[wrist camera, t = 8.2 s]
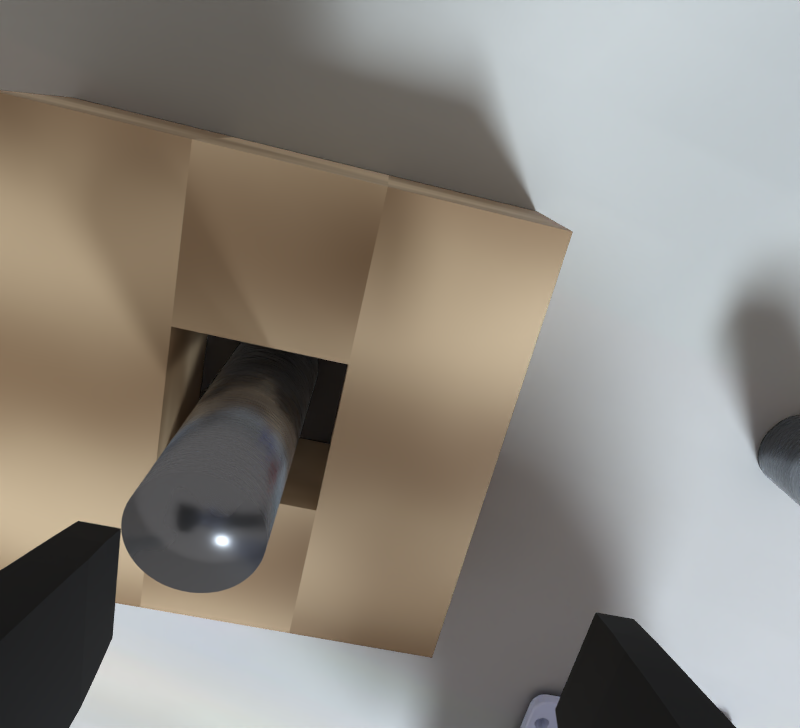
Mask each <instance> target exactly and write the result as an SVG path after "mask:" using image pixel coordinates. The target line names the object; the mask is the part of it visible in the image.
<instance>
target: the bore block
mask: <svg viewBox="0 0 800 728" xmlns="http://www.w3.org/2000/svg"><path fill="white" fill-rule="evenodd" d="M571 235H572V231H570V230H569V229H567V228H565V227H563V226H562V225H560V224H558V223H556V222H554V221H553V220H551V219H549V218H547V217H546V216H544V215H542V214H540V213H539V212H537V211H533V210H529V209H525V208H521V207H517V206H513V205H509V204H504V203H500V202H496V201H492V200H488V199H484V198H480V197H476V196H472V195H468V194H464V193H460V192H456V191H451V190H447V189H443V188H439V187H435V186H431V185H427V184H423V183H419V182H415V181H411V180H407V179H402V178H398V177H394V176H390V175H386V174H382V173H378V172H374V171H370V170H366V169H362V168H358V167H354V166H349V165H345V164H341V163H337V162H333V161H329V160H325V159H321V158H317V157H313V156H309V155H305V154H300V153H296V152H292V151H288V150H284V149H280V148H276V147H272V146H268V145H264V144H260V143H256V142H251V141H247V140H243V139H239V138H235V137H231V136H227V135H223V134H219V133H215V132H211V131H207V130H203V129H198V128H194V127H190V126H186V125H182V124H178V123H174V122H170V121H166V120H162V119H158V118H154V117H149V116H145V115H141V114H137V113H133V112H129V111H125V110H121V109H117V108H113V107H109V106H105V105H101V104H96V103H92V102H88V101H84V100H80V99H76V98H72V97H62V96H52V95H42V94H32V93H22V92H12V91H2V90H0V570H1V569H3V568H5V567H6V566H8V565H9V564H11V563H12V562H14V561H15V560H17V559H19V558H20V557H22V556H23V555H25V554H26V553H28V552H29V551H31V550H33V549H34V548H36V547H37V546H39V545H40V544H42V543H43V542H45V541H47V540H48V539H50V538H51V537H53V536H54V535H56V534H58V533H59V532H61V531H62V530H64V529H66V528H67V527H69V526H71V525H72V524H74V523H75V522H77V521H82V522H88V523H93V524H99V525H105V526H110V527H116V528H121V521H122V515H123V511H124V508H125V506H126V504H127V502H128V501H129V499H130V498H131V496H132V495H133V493H134V492H135V490H136V489H137V488H138V486H139V485H140V483H141V482H142V481H143V479H144V478H145V476H146V475H147V474H148V472H149V471H150V469H151V468H152V467H153V465H154V464H155V462H156V461H157V460H158V458H159V457H160V455H161V454H162V453H163V451H164V450H165V448H166V447H167V445H168V444H169V443H170V441H171V440H172V438H173V437H174V436H175V434H176V433H177V431H178V430H179V429H180V427H181V426H182V424H183V423H184V422H185V420H186V419H187V417H188V416H189V415H190V413H191V412H192V410H193V409H194V408H195V406H196V405H197V403H198V402H199V397H200V390H201V382H202V375H203V367H204V360H205V352H206V345H207V337H208V334H209V335H213V336H218V337H223V338H227V339H232V340H237V341H241V342H246V343H251V344H255V345H260V346H265V347H269V348H274V349H279V350H283V351H288V352H292V353H297V354H302V355H306V356H311V357H316V358H320V359H325V360H330V361H334V362H339V363H344V364H347V367H346V372H345V377H344V381H343V386H342V390H341V395H340V399H339V404H338V408H337V413H336V417H335V422H334V427H333V431H332V436H331V440H330V444H327V443H322V442H317V441H312V440H308V439H303V438H299V440H298V443H297V447H296V450H295V453H294V457H293V460H292V464H291V467H290V470H289V474H288V477H287V480H286V484H285V487H284V490H283V494H282V497H281V501H280V504H279V507H278V511H277V514H276V517H275V521H274V524H273V527H272V531H271V534H270V538H269V541H268V544H267V548H266V551H265V554H264V557H263V559H262V561H261V563H260V565H259V566H258V568H257V569H256V570H255V571H254V573H253V574H252V575H250V576H249V577H248V578H247V579H246V580H244V581H243V582H241V583H240V584H238V585H236V586H234V587H231V588H229V589H226V590H222V591H218V592H212V593H190V592H185V591H180V590H177V589H173V588H170V587H168V586H165V585H163V584H161V583H159V582H157V581H156V580H154V579H153V578H151V577H150V576H148V575H147V574H146V573H145V572H143V571H142V570H141V569H140V568H139V567H138V566H137V565H136V564H135V562H134V561H133V559H132V558H131V557H130V555H129V553H128V551H127V550H126V547H125V545H124V542H123V538H122V533H121V535H120V548H119V560H118V573H117V586H116V598H115V603H119V604H125V605H131V606H136V607H142V608H148V609H154V610H160V611H165V612H171V613H177V614H183V615H188V616H194V617H200V618H206V619H212V620H217V621H223V622H229V623H235V624H240V625H246V626H252V627H258V628H264V629H269V630H275V631H281V632H287V633H292V634H298V635H304V636H310V637H316V638H321V639H327V640H333V641H339V642H344V643H350V644H356V645H362V646H368V647H373V648H379V649H385V650H391V651H396V652H402V653H408V654H414V655H420V656H425V657H431V658H432V656H433V653H434V650H435V647H436V644H437V641H438V638H439V635H440V632H441V629H442V626H443V623H444V620H445V617H446V614H447V611H448V608H449V605H450V602H451V599H452V596H453V593H454V589H455V586H456V583H457V580H458V577H459V574H460V571H461V568H462V565H463V562H464V559H465V556H466V553H467V550H468V547H469V544H470V541H471V538H472V535H473V532H474V529H475V526H476V523H477V520H478V517H479V514H480V511H481V508H482V505H483V502H484V499H485V496H486V493H487V490H488V487H489V484H490V481H491V478H492V474H493V471H494V468H495V465H496V462H497V459H498V456H499V453H500V450H501V447H502V444H503V441H504V438H505V435H506V432H507V429H508V426H509V423H510V420H511V417H512V414H513V411H514V408H515V405H516V402H517V399H518V396H519V393H520V390H521V387H522V384H523V381H524V378H525V375H526V372H527V369H528V366H529V363H530V360H531V356H532V353H533V350H534V347H535V344H536V341H537V338H538V335H539V332H540V329H541V326H542V323H543V320H544V317H545V314H546V311H547V308H548V305H549V302H550V299H551V296H552V293H553V290H554V287H555V284H556V281H557V278H558V275H559V272H560V269H561V266H562V263H563V260H564V257H565V254H566V251H567V248H568V245H569V242H570V238H571Z"/></svg>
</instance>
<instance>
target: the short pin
mask: <svg viewBox="0 0 800 728" xmlns="http://www.w3.org/2000/svg"><path fill="white" fill-rule="evenodd" d="M758 460H759V465H760V468H761V470H762V472H763V473H764V474H765V475H766V476H767V477H768V478H769V479H770V480H771V481H772V482H773V483H775V484H776V485H777V486H778V487H779V488H780V489H781V490H783V491H784V492H785V493H786V494H787V495H788V496H789V497H791V498H792V499H793V500H794V501H795V502H796V503H797V504H799V505H800V415H797V416H793V417H790V418H788V419H785V420H783V421H782V422H780V423H779V424H777V425H776V426H775V427H773V428H772V429H771V430H770V431H769V432H768V434H767V435H766V436H765V438H764V439H763V441H762V443H761V446H760V449H759V454H758Z"/></svg>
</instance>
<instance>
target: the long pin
mask: <svg viewBox="0 0 800 728" xmlns="http://www.w3.org/2000/svg"><path fill="white" fill-rule="evenodd" d="M318 369H319V365H318V358H316V357H311V356H306V355H302V354H297V353H292V352H288V351H283V350H279V349H274V348H269V347H265V346H260V345H255V344H251V343H246V342H241V343H240V344H239V346H238V347H237V348H236V350H235V351H234V353H233V354H232V355H231V357H230V358H229V360H228V361H227V363H226V364H225V365H224V367H223V368H222V370H221V371H220V372H219V374H218V375H217V377H216V378H215V379H214V381H213V382H212V384H211V385H210V386H209V388H208V389H207V391H206V392H205V393H204V395H203V396H202V398H201V399H200V400H199V402H198V403H197V405H196V406H195V408H194V409H193V410H192V412H191V413H190V415H189V416H188V417H187V419H186V420H185V422H184V423H183V424H182V426H181V427H180V429H179V430H178V431H177V433H176V434H175V436H174V437H173V438H172V440H171V441H170V443H169V444H168V445H167V447H166V448H165V450H164V451H163V453H162V454H161V455H160V457H159V458H158V460H157V461H156V462H155V464H154V465H153V467H152V468H151V469H150V471H149V472H148V474H147V475H146V476H145V478H144V479H143V481H142V482H141V483H140V485H139V486H138V488H137V489H136V490H135V492H134V493H133V495H132V496H131V498H130V499H129V501H128V502H127V504H126V506H125V508H124V511H123V515H122V521H121V533H122V538H123V542H124V545H125V547H126V550H127V551H128V553H129V555H130V557H131V558H132V559H133V561H134V562H135V564H136V565H137V566H138V567H139V568H140V569H141V570H142V571H143V572H145V573H146V574H147V575H148V576H150V577H151V578H153V579H154V580H156V581H157V582H159V583H161V584H163V585H165V586H168V587H170V588H173V589H177V590H180V591H185V592H190V593H212V592H218V591H222V590H226V589H229V588H231V587H234V586H236V585H238V584H240V583H241V582H243V581H244V580H246V579H247V578H248V577H249V576H250V575H252V574H253V573H254V571H255V570H256V569H257V568H258V566H259V565H260V563H261V561H262V559H263V557H264V554H265V551H266V548H267V544H268V541H269V538H270V534H271V531H272V527H273V524H274V521H275V517H276V514H277V511H278V507H279V504H280V501H281V497H282V494H283V490H284V487H285V484H286V480H287V477H288V474H289V470H290V467H291V464H292V460H293V457H294V453H295V450H296V447H297V443H298V440H299V437H300V433H301V430H302V427H303V423H304V420H305V417H306V413H307V410H308V406H309V403H310V400H311V396H312V393H313V390H314V386H315V383H316V380H317V376H318Z"/></svg>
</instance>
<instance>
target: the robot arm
mask: <svg viewBox="0 0 800 728" xmlns="http://www.w3.org/2000/svg"><path fill="white" fill-rule="evenodd" d="M120 535H121V528H116V527H110V526H105V525H99V524H93V523H88V522H82V521H77V522H75V523H74V524H72V525H71V526H69V527H67V528H66V529H64V530H62V531H61V532H59V533H58V534H56V535H54V536H53V537H51V538H50V539H48V540H47V541H45V542H43V543H42V544H40V545H39V546H37V547H36V548H34V549H33V550H31V551H29V552H28V553H26V554H25V555H23V556H22V557H20V558H19V559H17V560H15V561H14V562H12V563H11V564H9V565H8V566H6V567H5V568H3V569H1V570H0V728H69V727H70V725H71V723H72V722H73V720H74V718H75V716H76V715H77V713H78V711H79V709H80V707H81V705H82V703H83V701H84V699H85V697H86V695H87V693H88V690H89V688H90V686H91V684H92V682H93V680H94V678H95V675H96V673H97V671H98V669H99V666H100V664H101V662H102V660H103V658H104V655H105V653H106V651H107V649H108V646H109V644H110V642H111V640H112V636H113V623H114V611H115V598H116V586H117V573H118V560H119V548H120ZM539 718H541V719H539ZM520 728H736V727H735V726H734V725H733V724H732V723H731V722H730V721H729V720H728V718H727V717H726V716H725V715H724V714H723V713H722V712H721V711H720V710H719V709H718V708H717V707H716V706H715V705H714V703H713V702H712V701H711V700H710V699H709V698H708V697H707V696H706V695H705V694H704V693H703V692H702V691H701V689H700V688H699V687H698V686H697V685H696V684H695V683H694V682H693V681H692V680H691V679H690V678H689V677H688V675H687V674H686V673H685V672H684V671H683V670H682V669H681V668H680V667H679V666H678V665H677V664H676V662H675V661H674V660H673V659H672V658H671V657H670V656H669V655H668V654H667V653H666V652H665V651H664V650H663V649H662V648H661V646H660V645H659V644H658V643H657V642H656V641H655V640H654V639H653V638H652V637H651V636H650V635H649V634H648V633H647V632H646V631H645V630H644V629H643V628H642V627H641V626H640V625H639V624H638V623H637V622H636V621H635V620H634V619H630V618H624V617H618V616H613V615H607V614H601V613H595V616H594V618H593V620H592V623H591V625H590V628H589V630H588V632H587V635H586V637H585V639H584V642H583V644H582V647H581V649H580V651H579V654H578V656H577V658H576V661H575V663H574V666H573V668H572V670H571V673H570V675H569V678H568V680H567V682H566V685H565V687H564V689H563V692H562V694H561V697H559V696H553V695H546V694H542V695H539V696H537V697H535V698H534V699H533V700H532V701H531V703H530V705H529V707H528V710H527V712H526V715H525V717H524V719H523V722H522V724H521V727H520Z"/></svg>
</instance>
